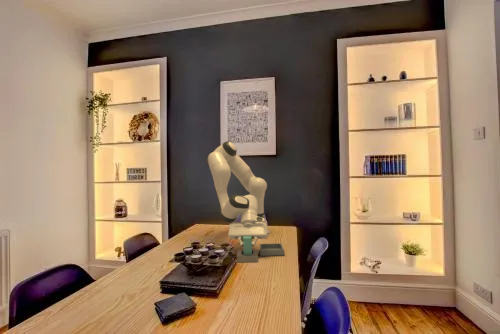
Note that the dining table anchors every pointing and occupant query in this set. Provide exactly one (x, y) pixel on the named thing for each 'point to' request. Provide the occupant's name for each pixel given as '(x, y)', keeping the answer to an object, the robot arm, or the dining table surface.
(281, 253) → the parts tray
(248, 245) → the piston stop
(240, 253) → the grey flat square block
